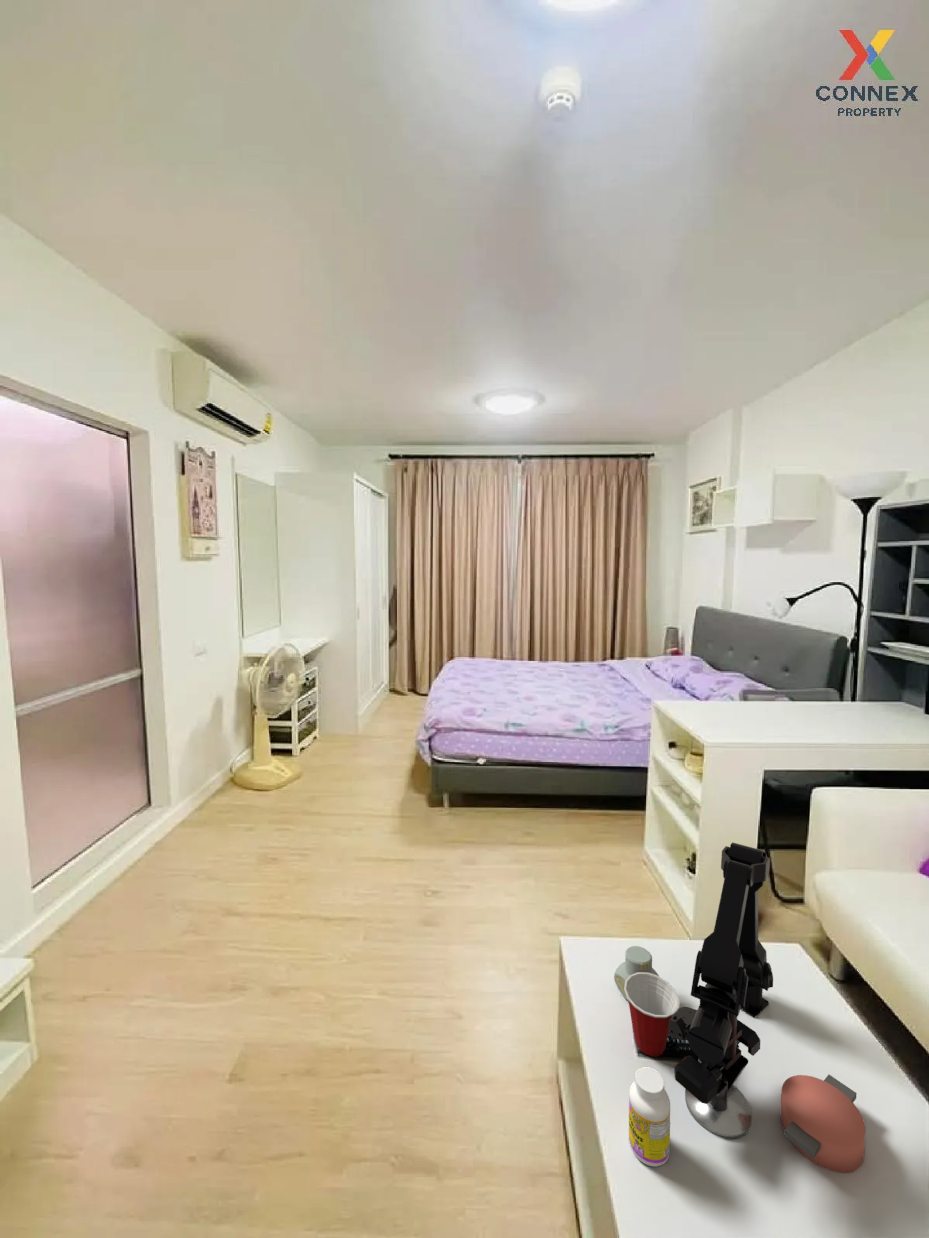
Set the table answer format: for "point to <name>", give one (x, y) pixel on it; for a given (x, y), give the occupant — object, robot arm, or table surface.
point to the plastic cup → (650, 1010)
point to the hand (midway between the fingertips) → (717, 1098)
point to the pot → (823, 1122)
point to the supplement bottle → (649, 1117)
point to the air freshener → (633, 966)
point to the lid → (722, 1113)
